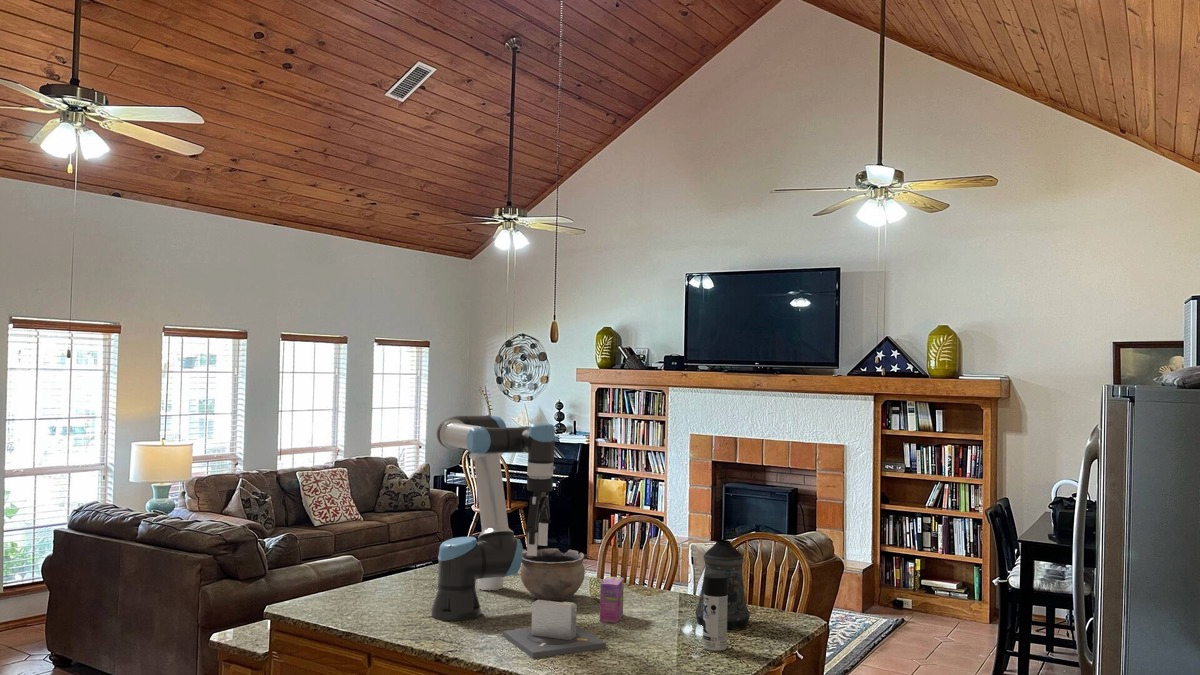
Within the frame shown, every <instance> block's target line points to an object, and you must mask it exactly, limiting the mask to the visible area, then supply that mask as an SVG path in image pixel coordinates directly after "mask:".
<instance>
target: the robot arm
mask: <svg viewBox="0 0 1200 675" xmlns="http://www.w3.org/2000/svg"><path fill="white" fill-rule="evenodd" d="M436 439H437V441H438V442H439V445H441V446H442V447H444V448H445V449H448V450H451V451H468V456H469V458H470V460H472V461H473V462H474V472H475V480H476V488H477V498H478V506H479V516H480V525H481V532H480V533H479V535H478V536H477V538H476V537H474V536H459V537H453V538H450V539H447V540H445V541H443V542H442V543H441V544H440V546H439V550H438V556H437V560H438V575H437V576H438V580H437V592H436V595H435V598H434V600H433V603H432V605H431V617H433V618H435V619H438V620H442V621H466V620H472V619H475V618H478V617H479V616H480V615H481V604H480V600H479V597H478V593H477V591H476V581H477V580H478V579H483V578H494V577H503V578H505V577H510V576H511V577H512V576H515V575H516V574H517V573H518V572H519V570H521V569H520V568H521V567H522V557H523V553H524V551H523V544H522V541H521V539H519V538H517V537H515V533H514V531H513V530H512V529H511V528H510V527H509V521H508V513H507V506H506V499H505V497H506V496H505V490H504V481H503V474H502V465H501V457H502V455H503V454H511V453H512V454H515V453H516V454H523V453H526V454H528V455H527V470H526V471H527V472H526V475H527V476H528V477H527V478H526V489H527V491H529V492H533V495H532V496H530V497H529V505H528V506H529V507H528V514H527V519H526V526H525V527H526V528H525V529H524V532H525V533H527V543H526V544H527V547H526V552H527V555H529V556H537V550H538V546H544V547H547V546H548V539H549V538H548V536H549V535H548V534H549V531H548V530H549V524H551V522H552V519H550V518H551V514H550V501H549V494H550V492H552V491H553V489H554V479H553V476H554V470H555V469H556V466H555V465H554V462H555V460H554V459H555V457H554V456H555V441H556V433H555V426H554V425H553V424H551V423H543V422H533V423H531V424H530V425H529V426H528V425H526V426H524V425H523V426H522V425H521V426H518V427H507V424H506V423H505V421H504V419H502V418H501V417H499V416H497V415H489V414H488V415H454V416H451V417H447V418H446V419H444V420H443V421H442V422H441V423H440V424H439V425H438V426H437V430H436Z"/></svg>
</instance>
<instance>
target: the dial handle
mask: <svg viewBox="0 0 1200 675" xmlns="http://www.w3.org/2000/svg"><path fill="white" fill-rule="evenodd" d="M577 609H578V608H577V603H575V602H569V601H562V602H560V601H555V600H543V599H537V600H535V601H533V602H532V603H531V628H532V632H531V635H534V636H542V637H550V638H557V639H565V640H572V639H573V638H575V637H576V625H577V614H578V613H577Z"/></svg>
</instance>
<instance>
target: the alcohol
mask: <svg viewBox="0 0 1200 675" xmlns="http://www.w3.org/2000/svg"><path fill="white" fill-rule="evenodd" d="M477 587H478V589H479V590H480V589H481V590H480V591H483V590H489V591H488V592H491V591H490V590H497V591H500V590H499V589H501V588H503V587H504V577H494V578H483V579H477ZM501 590H502V589H501Z"/></svg>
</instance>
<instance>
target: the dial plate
mask: <svg viewBox="0 0 1200 675" xmlns="http://www.w3.org/2000/svg"><path fill="white" fill-rule="evenodd" d="M531 632H532V627H529V628H528V627H526V628H519V629H509V630H502V637H503V638H505V639H506V640H507V641H508V642H510V643H511V644H513V645H514V646H515V647H517V648H518V649H520V650H521V651H522V652H524V653H525V654H526V655H527V656H528V657H530V658H532V659H537V658H544V657H551V656H559V655H560V656H561V655H567V654H575V653H582V652H591V651H596V650H604V649H607V642H605V641H604V640H602V639H600V638H599V637H597V636H596V635H593V634H592V633H591V632H588V631H587V630H585V629H583V628H581V627H580V626H578V624H576V637H575V638H573V639H572V640H565V639H557V638H550V637H542V636H534V635H531Z"/></svg>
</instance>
